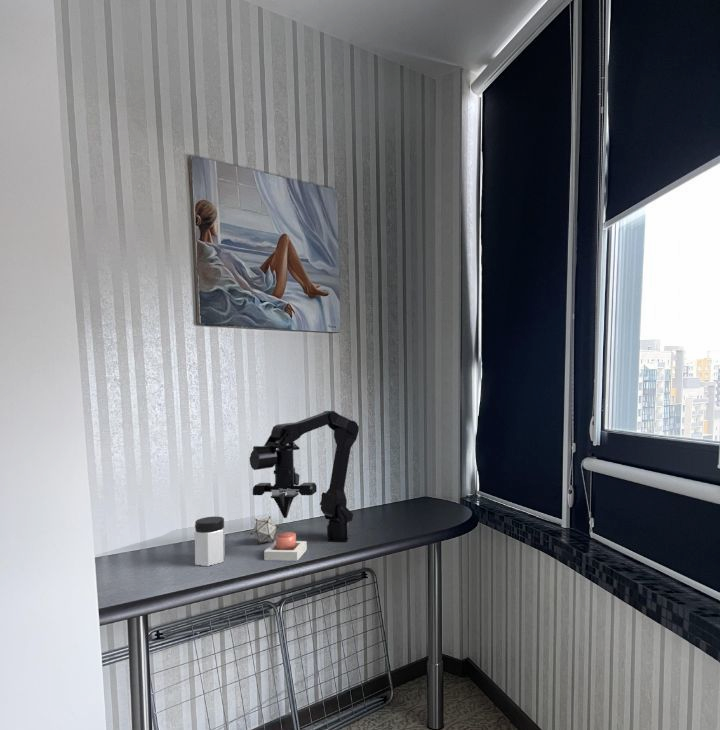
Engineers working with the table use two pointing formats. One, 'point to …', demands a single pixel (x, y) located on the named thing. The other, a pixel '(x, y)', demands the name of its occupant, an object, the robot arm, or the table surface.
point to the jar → (209, 541)
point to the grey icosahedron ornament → (264, 530)
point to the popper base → (285, 552)
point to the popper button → (286, 541)
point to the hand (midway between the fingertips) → (285, 517)
